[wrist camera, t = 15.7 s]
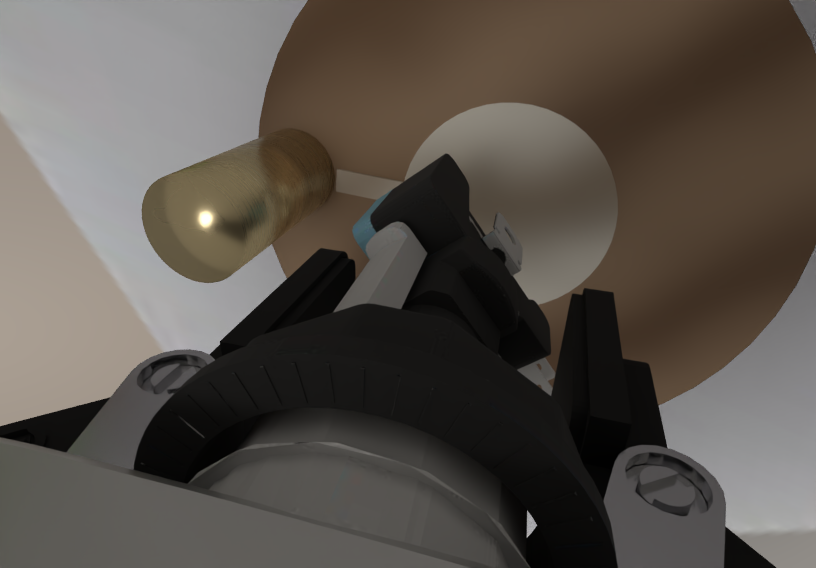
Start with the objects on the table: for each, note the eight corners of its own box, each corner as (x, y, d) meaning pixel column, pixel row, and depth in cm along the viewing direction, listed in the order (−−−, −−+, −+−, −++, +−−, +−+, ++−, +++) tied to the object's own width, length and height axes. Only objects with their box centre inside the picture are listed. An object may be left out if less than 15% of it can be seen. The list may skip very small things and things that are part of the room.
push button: (634, 329, 14) (815, 883, 5) (459, 406, 16) (363, 886, 7) (493, 101, 12) (377, 309, 3) (319, 221, 14) (-33, 543, 5)
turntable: (927, 240, 17) (1171, 404, 10) (480, 455, 25) (443, 621, 19) (567, -290, 14) (554, -589, 7) (202, 161, 22) (37, 229, 16)
